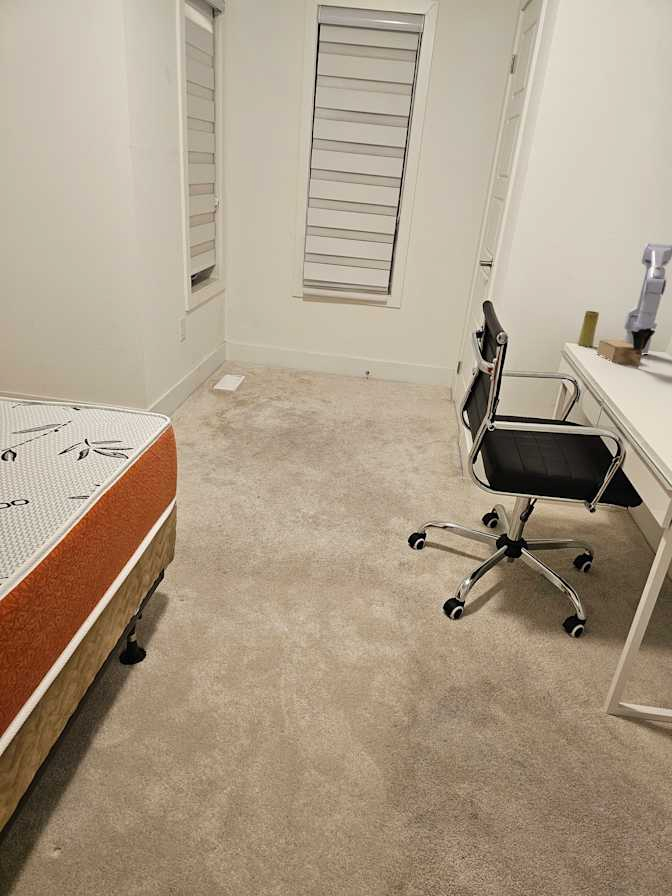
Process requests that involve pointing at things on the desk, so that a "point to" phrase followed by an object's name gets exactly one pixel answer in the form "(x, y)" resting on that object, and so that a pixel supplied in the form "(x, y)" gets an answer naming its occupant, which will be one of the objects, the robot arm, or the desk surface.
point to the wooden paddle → (628, 356)
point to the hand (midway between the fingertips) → (638, 349)
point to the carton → (612, 347)
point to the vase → (588, 328)
